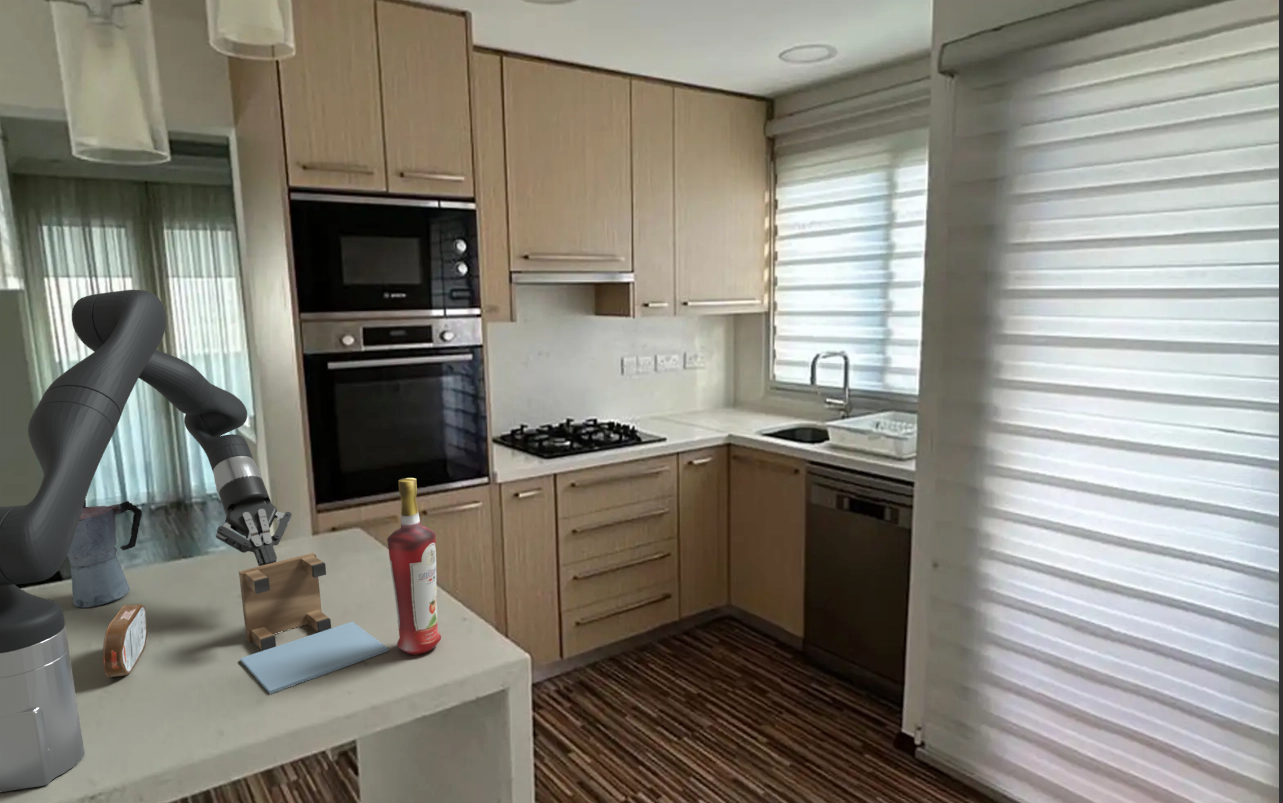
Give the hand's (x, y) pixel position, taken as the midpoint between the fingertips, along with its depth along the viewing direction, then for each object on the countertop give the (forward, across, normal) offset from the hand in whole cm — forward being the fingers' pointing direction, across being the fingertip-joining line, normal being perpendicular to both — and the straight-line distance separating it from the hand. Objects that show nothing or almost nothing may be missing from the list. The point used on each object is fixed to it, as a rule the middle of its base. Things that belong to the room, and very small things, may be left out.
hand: (269, 566), depth 132 cm
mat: (+20, 0, -6) cm, 21 cm away
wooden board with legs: (+13, 0, +2) cm, 13 cm away
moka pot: (-18, -20, +32) cm, 42 cm away
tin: (+7, -22, +8) cm, 24 cm away
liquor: (+27, +13, -13) cm, 33 cm away
